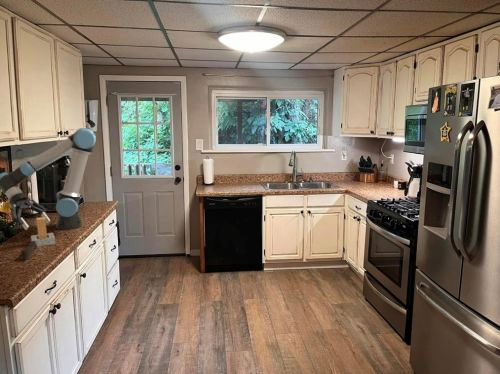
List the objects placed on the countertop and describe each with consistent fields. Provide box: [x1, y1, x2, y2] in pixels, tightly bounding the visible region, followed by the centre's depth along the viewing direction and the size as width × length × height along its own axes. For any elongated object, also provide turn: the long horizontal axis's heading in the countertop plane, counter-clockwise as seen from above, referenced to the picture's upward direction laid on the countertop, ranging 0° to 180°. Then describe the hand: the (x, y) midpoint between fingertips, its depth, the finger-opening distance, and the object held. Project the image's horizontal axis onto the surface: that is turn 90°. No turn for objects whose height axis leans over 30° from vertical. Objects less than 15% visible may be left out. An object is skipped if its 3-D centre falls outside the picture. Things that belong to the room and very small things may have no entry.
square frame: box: [30, 232, 56, 247], centre depth 210 cm, size 11×11×4 cm
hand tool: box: [22, 242, 38, 261], centre depth 191 cm, size 19×4×5 cm, turn 17°
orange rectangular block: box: [36, 216, 48, 239], centre depth 209 cm, size 4×4×14 cm
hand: (38, 225), depth 209 cm, fingers open, 13 cm apart
